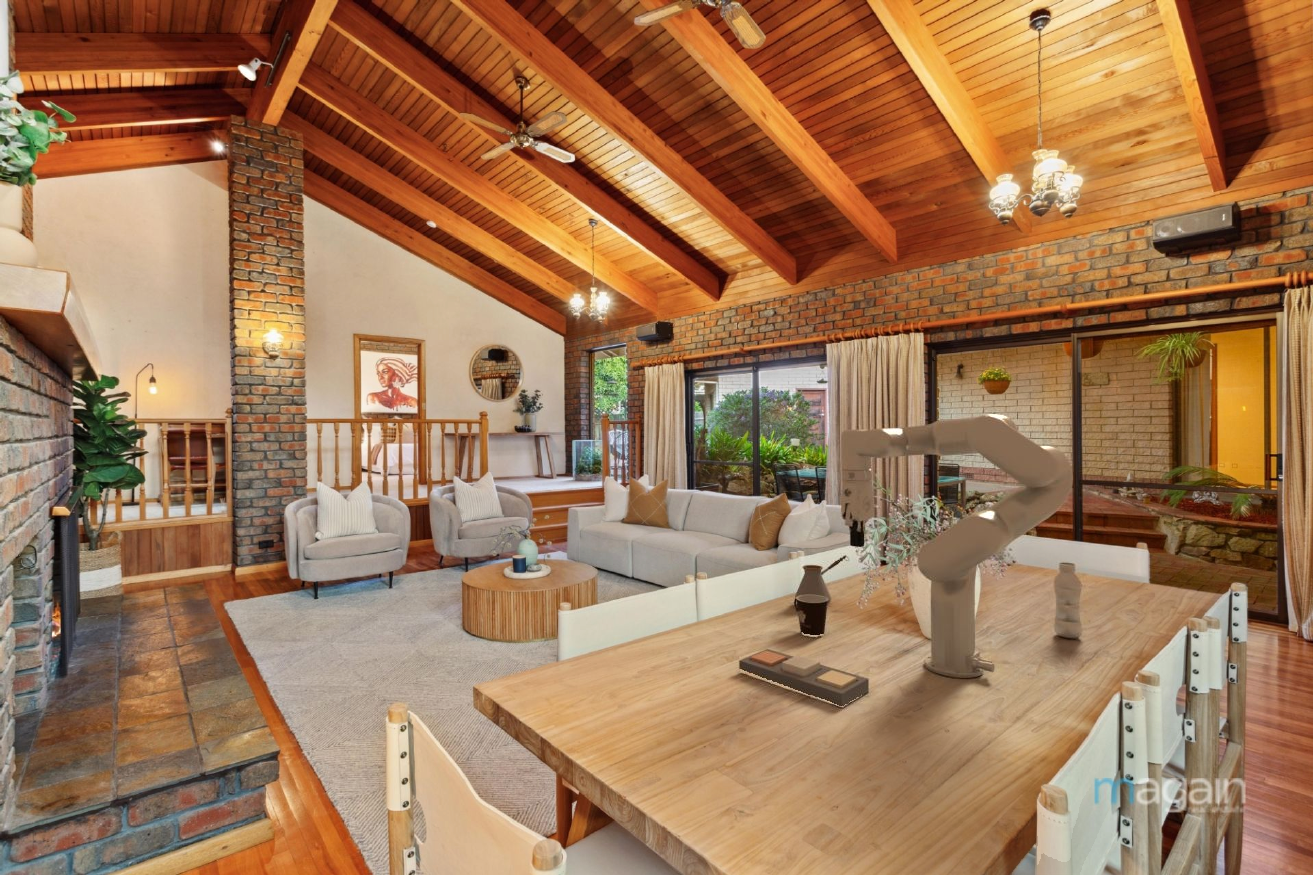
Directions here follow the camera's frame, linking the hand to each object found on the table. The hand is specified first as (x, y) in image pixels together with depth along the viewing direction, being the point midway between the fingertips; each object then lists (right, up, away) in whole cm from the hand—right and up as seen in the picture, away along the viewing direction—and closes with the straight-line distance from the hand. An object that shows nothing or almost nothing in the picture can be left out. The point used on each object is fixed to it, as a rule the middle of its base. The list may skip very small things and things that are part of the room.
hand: (857, 546), depth 164 cm
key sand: (-14, -26, -29) cm, 41 cm away
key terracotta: (-26, -26, -16) cm, 40 cm away
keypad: (-20, -27, -22) cm, 40 cm away
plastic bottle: (+59, -26, +5) cm, 64 cm away
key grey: (-20, -25, -22) cm, 39 cm away
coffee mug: (-9, -27, +13) cm, 31 cm away
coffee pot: (+3, -27, +41) cm, 49 cm away
